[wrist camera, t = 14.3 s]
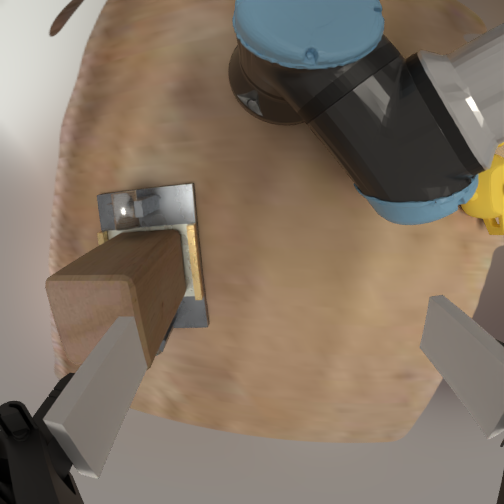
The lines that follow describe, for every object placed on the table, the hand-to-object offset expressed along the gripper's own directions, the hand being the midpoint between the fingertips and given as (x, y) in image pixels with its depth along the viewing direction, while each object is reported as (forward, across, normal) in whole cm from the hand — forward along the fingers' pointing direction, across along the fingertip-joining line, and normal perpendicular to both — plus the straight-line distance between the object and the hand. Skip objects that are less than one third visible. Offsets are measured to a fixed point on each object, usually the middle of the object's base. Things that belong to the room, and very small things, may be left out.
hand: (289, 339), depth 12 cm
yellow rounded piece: (+33, +37, +5) cm, 50 cm away
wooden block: (+31, -17, -6) cm, 36 cm away
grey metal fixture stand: (+33, -17, -6) cm, 37 cm away
